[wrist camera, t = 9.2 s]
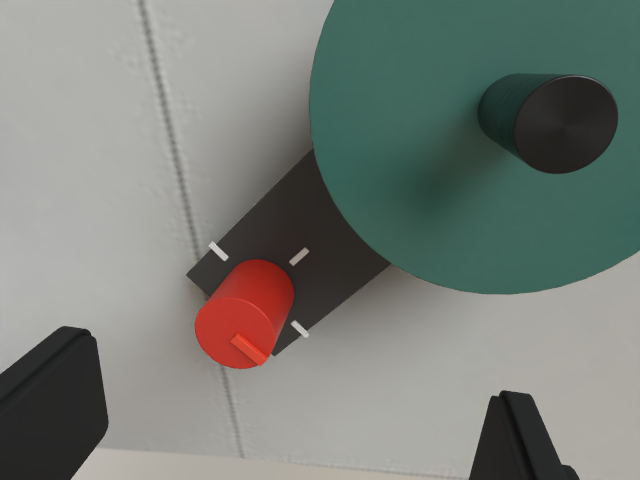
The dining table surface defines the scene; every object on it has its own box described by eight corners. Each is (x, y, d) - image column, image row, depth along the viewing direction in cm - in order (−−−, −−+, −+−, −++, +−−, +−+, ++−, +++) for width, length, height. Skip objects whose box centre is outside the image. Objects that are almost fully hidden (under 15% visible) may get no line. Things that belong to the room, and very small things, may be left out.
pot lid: (560, -262, 13) (695, -532, 7) (821, 111, 15) (1083, 136, 9) (241, 103, 18) (170, 118, 12) (470, 340, 20) (501, 447, 14)
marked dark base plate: (320, 134, 27) (311, 141, 24) (413, 233, 28) (416, 252, 25) (189, 264, 31) (169, 284, 29) (275, 344, 33) (264, 371, 30)
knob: (213, 289, 28) (176, 335, 23) (255, 245, 27) (224, 284, 22) (265, 333, 29) (239, 386, 24) (308, 291, 27) (290, 340, 22)
